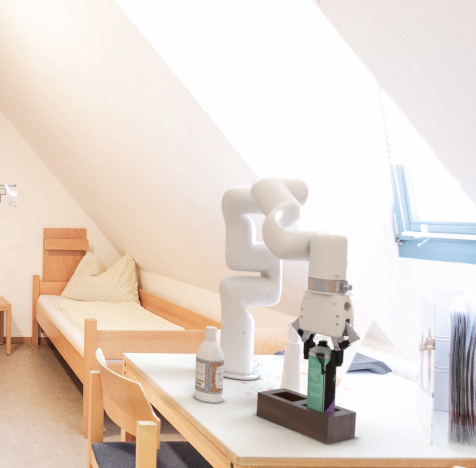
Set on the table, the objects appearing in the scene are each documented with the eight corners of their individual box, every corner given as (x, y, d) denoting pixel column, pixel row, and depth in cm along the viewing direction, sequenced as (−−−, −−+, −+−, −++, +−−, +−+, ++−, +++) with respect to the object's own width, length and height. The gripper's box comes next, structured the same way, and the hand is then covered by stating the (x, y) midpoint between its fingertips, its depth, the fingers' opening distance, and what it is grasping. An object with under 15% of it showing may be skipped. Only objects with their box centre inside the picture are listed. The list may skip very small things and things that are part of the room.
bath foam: (212, 405, 142) (216, 331, 141) (189, 397, 148) (192, 326, 147) (227, 400, 146) (230, 328, 145) (203, 392, 151) (206, 323, 150)
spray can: (337, 430, 122) (340, 344, 121) (309, 427, 124) (313, 342, 123) (329, 422, 127) (333, 339, 126) (303, 418, 129) (306, 337, 128)
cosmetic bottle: (287, 403, 144) (291, 323, 143) (273, 395, 151) (276, 318, 149) (308, 403, 145) (312, 323, 144) (293, 395, 151) (297, 318, 150)
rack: (283, 410, 139) (284, 387, 139) (354, 437, 123) (356, 412, 122) (256, 415, 135) (257, 392, 135) (326, 444, 119) (328, 417, 119)
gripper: (377, 291, 117) (372, 371, 118) (301, 280, 133) (297, 351, 134) (356, 293, 114) (350, 375, 116) (281, 281, 130) (277, 354, 131)
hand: (322, 361), depth 125 cm, fingers closed on spray can, 5 cm apart
